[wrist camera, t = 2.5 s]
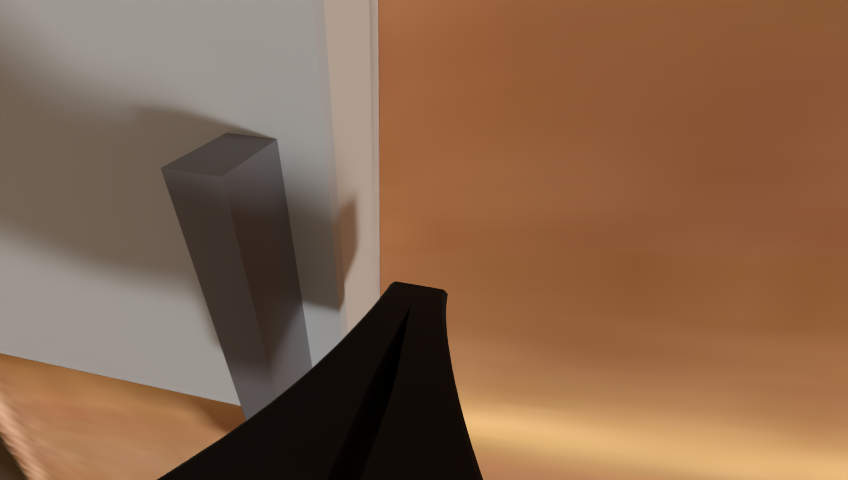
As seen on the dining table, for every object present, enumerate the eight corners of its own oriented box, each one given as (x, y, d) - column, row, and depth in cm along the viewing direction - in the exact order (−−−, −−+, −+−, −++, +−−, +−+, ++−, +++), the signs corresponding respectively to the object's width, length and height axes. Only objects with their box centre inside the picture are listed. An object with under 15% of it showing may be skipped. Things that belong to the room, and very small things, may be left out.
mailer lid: (353, 417, 15) (328, 486, 13) (-51, 330, 17) (-128, 377, 15) (322, -16, 7) (247, -13, 5) (-401, -70, 10) (-649, -83, 8)
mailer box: (380, 334, 19) (351, 410, 15) (48, 272, 21) (-38, 327, 18) (377, -23, 11) (318, -23, 8) (-152, -61, 13) (-376, -74, 10)
